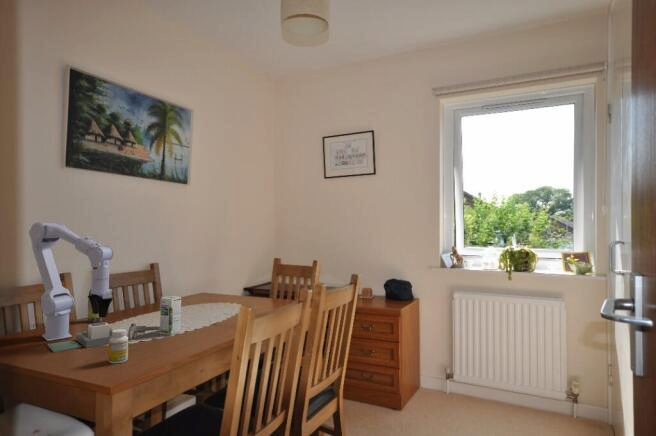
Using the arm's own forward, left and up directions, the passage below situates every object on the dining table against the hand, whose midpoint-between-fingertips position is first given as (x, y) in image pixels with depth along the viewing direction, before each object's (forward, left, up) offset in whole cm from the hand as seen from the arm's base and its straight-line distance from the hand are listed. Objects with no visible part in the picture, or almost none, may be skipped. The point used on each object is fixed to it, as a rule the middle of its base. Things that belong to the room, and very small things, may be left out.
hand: (99, 315), depth 151 cm
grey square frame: (0, 0, -9) cm, 9 cm away
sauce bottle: (-33, +8, -10) cm, 35 cm away
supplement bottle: (+28, -2, -10) cm, 30 cm away
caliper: (+3, +18, -10) cm, 21 cm away
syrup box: (+7, +24, -10) cm, 27 cm away
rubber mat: (0, -11, -9) cm, 15 cm away
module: (0, 0, -10) cm, 10 cm away
